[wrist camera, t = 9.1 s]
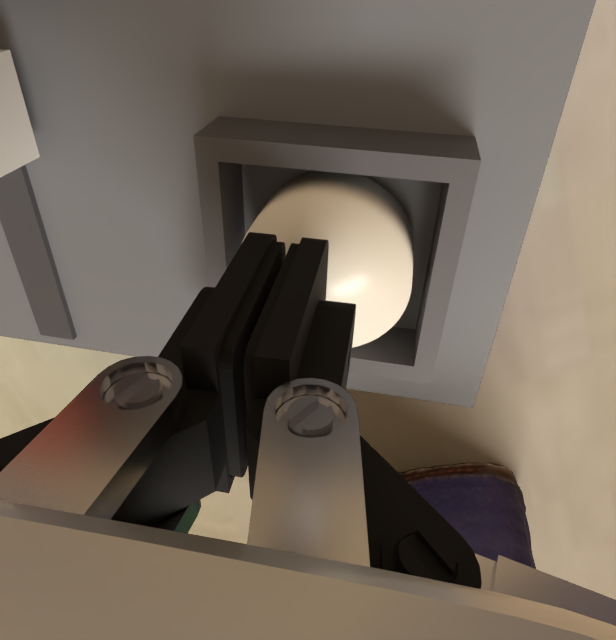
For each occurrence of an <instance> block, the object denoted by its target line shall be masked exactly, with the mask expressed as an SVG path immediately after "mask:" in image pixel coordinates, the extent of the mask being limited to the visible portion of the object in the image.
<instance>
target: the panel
mask: <svg viewBox="0 0 616 640" xmlns="http://www.w3.org/2000/svg"><path fill="white" fill-rule="evenodd" d="M595 2H596V0H0V49H7V50H10V52H11V55H12V59H13V63H14V66H15V70H16V73H17V77H18V80H19V84H20V87H21V91H22V95H23V98H24V102H25V105H26V109H27V112H28V116H29V119H30V123H31V127H32V130H33V134H34V137H35V141H36V144H37V148H38V152H39V155H40V157H39V158H37V159H35V160H33V161H31V162H29V163H27V164H25V165H24V166H22V167H20V168H18V169H16V170H14V171H12V172H10V173H8V174H6V175H4V176H2V177H0V336H5V337H11V338H18V339H24V340H31V341H37V342H44V343H51V344H57V345H64V346H70V347H77V348H83V349H90V350H97V351H103V352H110V353H116V354H123V355H129V356H136V357H139V356H154V357H158V356H159V354H160V353H161V351H162V349H163V348H164V346H165V345H166V343H167V342H168V340H169V339H170V337H171V336H172V334H173V332H174V331H175V329H176V328H177V326H178V325H179V323H180V322H181V320H182V318H183V317H184V315H185V314H186V312H187V311H188V309H189V308H190V306H191V304H192V303H193V301H194V300H195V298H196V297H197V295H198V294H199V292H200V291H201V290H202V288H203V287H216V285H217V284H218V282H219V280H220V279H221V277H222V275H223V274H224V272H225V270H226V269H227V267H228V266H229V264H230V262H231V261H232V259H233V257H234V256H235V254H236V252H237V251H238V249H239V247H240V246H241V244H242V241H243V239H244V237H245V235H246V233H247V231H248V230H249V228H250V227H251V225H252V224H253V222H254V221H255V219H256V218H257V216H258V215H259V213H260V212H261V210H262V209H263V207H264V206H265V204H266V203H267V201H268V200H269V199H270V197H271V196H272V195H273V194H274V193H275V192H276V191H277V190H278V189H279V188H280V187H281V186H282V185H284V184H285V183H286V182H288V181H290V180H292V179H293V178H295V177H298V176H300V175H303V174H305V173H310V172H314V171H323V172H334V173H345V174H356V175H361V176H363V177H366V178H368V179H370V180H372V181H374V182H375V183H377V184H379V185H380V186H382V187H383V188H384V189H385V190H387V191H388V192H389V193H390V194H391V195H392V196H393V197H394V198H395V199H396V200H397V202H398V203H399V204H400V206H401V207H402V208H403V210H404V212H405V214H406V216H407V217H408V220H409V222H410V225H411V228H412V233H413V238H414V259H413V277H412V290H411V295H410V299H409V302H408V304H407V307H406V309H405V311H404V312H403V314H402V316H401V317H400V319H399V320H398V321H397V322H396V324H395V325H394V326H393V327H392V328H391V329H389V330H388V331H387V332H386V333H385V334H383V335H382V336H380V337H379V338H377V339H375V340H373V341H371V342H369V343H366V344H363V345H361V346H357V347H353V348H352V352H351V360H350V367H349V374H348V380H347V386H346V389H352V390H359V391H366V392H372V393H379V394H385V395H392V396H398V397H405V398H412V399H418V400H425V401H431V402H438V403H444V404H451V405H457V406H464V407H471V408H473V406H474V403H475V399H476V396H477V393H478V389H479V386H480V383H481V379H482V376H483V373H484V369H485V366H486V363H487V360H488V356H489V353H490V350H491V346H492V343H493V340H494V336H495V333H496V330H497V326H498V323H499V320H500V316H501V313H502V310H503V307H504V303H505V300H506V297H507V293H508V290H509V287H510V283H511V280H512V277H513V273H514V270H515V267H516V263H517V260H518V257H519V254H520V250H521V247H522V244H523V240H524V237H525V234H526V230H527V227H528V224H529V220H530V217H531V214H532V210H533V207H534V204H535V201H536V197H537V194H538V191H539V187H540V184H541V181H542V177H543V174H544V171H545V167H546V164H547V161H548V157H549V154H550V151H551V148H552V144H553V141H554V138H555V134H556V131H557V128H558V124H559V121H560V118H561V114H562V111H563V108H564V104H565V101H566V98H567V95H568V91H569V88H570V85H571V81H572V78H573V75H574V71H575V68H576V65H577V61H578V58H579V55H580V51H581V48H582V45H583V42H584V38H585V35H586V32H587V28H588V25H589V22H590V18H591V15H592V12H593V8H594V5H595Z"/></svg>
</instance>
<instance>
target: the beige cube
mask: <svg viewBox="0 0 616 640" xmlns="http://www.w3.org/2000/svg"><path fill="white" fill-rule="evenodd" d="M39 157H40V155H39V152H38V148H37V144H36V141H35V137H34V134H33V130H32V127H31V123H30V119H29V116H28V112H27V109H26V105H25V102H24V98H23V95H22V91H21V87H20V84H19V80H18V77H17V73H16V70H15V66H14V63H13V59H12V55H11V52H10V50H7V49H0V177H2V176H4V175H6V174H8V173H10V172H12V171H14V170H16V169H18V168H20V167H22V166H24V165H25V164H27V163H29V162H31V161H33V160H35V159H37V158H39Z"/></svg>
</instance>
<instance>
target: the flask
mask: <svg viewBox="0 0 616 640" xmlns="http://www.w3.org/2000/svg"><path fill="white" fill-rule="evenodd" d="M399 474H400V475H401V476H402V477H403V478H404V479H405V480H406V481H407V482H408V483H409V484H410V485H411V486H412V487H413V488H414V489H415V490H416V491H417V492H418V493H419V494H420V495H421V496H422V497H423V498H424V499H425V500H426V501H427V502H428V503H429V504H430V505H431V506H432V507H433V508H434V509H435V510H436V511H437V512H438V513H439V514H440V515H441V516H442V517H443V518H444V519H445V520H446V521H447V522H448V523H449V524H450V525H451V526H452V527H453V528H454V529H455V530H456V531H457V532H458V533H459V534H460V535H461V536H462V537H463V538H464V539H465V541H466V542H467V543H468V544H469V546H470V547H471V548H472V549H473V551H474V553H475V554H478V555H480V556H483V557H485V558H488V559H491V560H493V561H496V559H497V557H498V555H500V556H503V557H505V558H508V559H511V560H513V561H516V562H518V563H521V564H524V565H526V566H529V567H531V568H534V569H536V567H535V563H534V559H533V555H532V550H531V539H530V532H529V526H528V522H527V518H526V514H525V512H526V507H525V504H524V499H523V494H522V491H521V489H520V487H519V486H518V484H517V481H516V479H515V477H514V475H513V472H512V471H510V470H508V469H507V468H506V467H505V466H498V465H493V464H490V463H483V464H479V463H464V464H458V465H452V466H450V465H449V466H442V467H441V466H436V467H433V469H432V468H429V469H427V468H421V469H416V470H411V471H409V472H406V473H399Z"/></svg>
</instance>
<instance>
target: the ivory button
mask: <svg viewBox="0 0 616 640" xmlns="http://www.w3.org/2000/svg"><path fill="white" fill-rule="evenodd" d="M249 232H255V233H265V234H274V235H276V237H277V242H284V243H285V248H286V254H287V252H288V250H289V247H290V245H291V243H296V244H299V243H300V241H301V239H302V237H304V238H314V239H324V240H328V242H329V251H328V269H327V287H326V301H335V302H344V303H352V304H356V314H355V324H354V334H353V344H352V348H353V347H357V346H361V345H363V344H366V343H369V342H371V341H373V340H375V339H377V338H379V337H380V336H382V335H383V334H385V333H386V332H387V331H388V330H389V329H391V328H392V327H393V326H394V325H395V324H396V322H397V321H398V320H399V319H400V317H401V316H402V314H403V312H404V311H405V309H406V307H407V304H408V302H409V299H410V295H411V290H412V277H413V259H414V238H413V233H412V228H411V225H410V222H409V220H408V217H407V216H406V214H405V212H404V210H403V208H402V207H401V206H400V204H399V203H398V202H397V200H396V199H395V198H394V197H393V196H392V195H391V194H390V193H389V192H388V191H387V190H385V189H384V188H383V187H382V186H380V185H379V184H377V183H375V182H374V181H372V180H370V179H368V178H366V177H363V176H361V175H356V174H345V173H334V172H323V171H314V172H310V173H305V174H303V175H300V176H298V177H295V178H293V179H292V180H290V181H288V182H286V183H285V184H284V185H282V186H281V187H280V188H279V189H278V190H277V191H276V192H275V193H274V194H273V195H272V196H271V197H270V199H269V200H268V201H267V203H266V204H265V206H264V207H263V209H262V210H261V212H260V213H259V215H258V216H257V218H256V219H255V221H254V222H253V224H252V225H251V227H250V228H249V230H248V231H247V233H246V235H245V237H246V236H247V234H248V233H249ZM245 237H244V239H245ZM244 239H243V241H244ZM243 241H242V242H243Z"/></svg>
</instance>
